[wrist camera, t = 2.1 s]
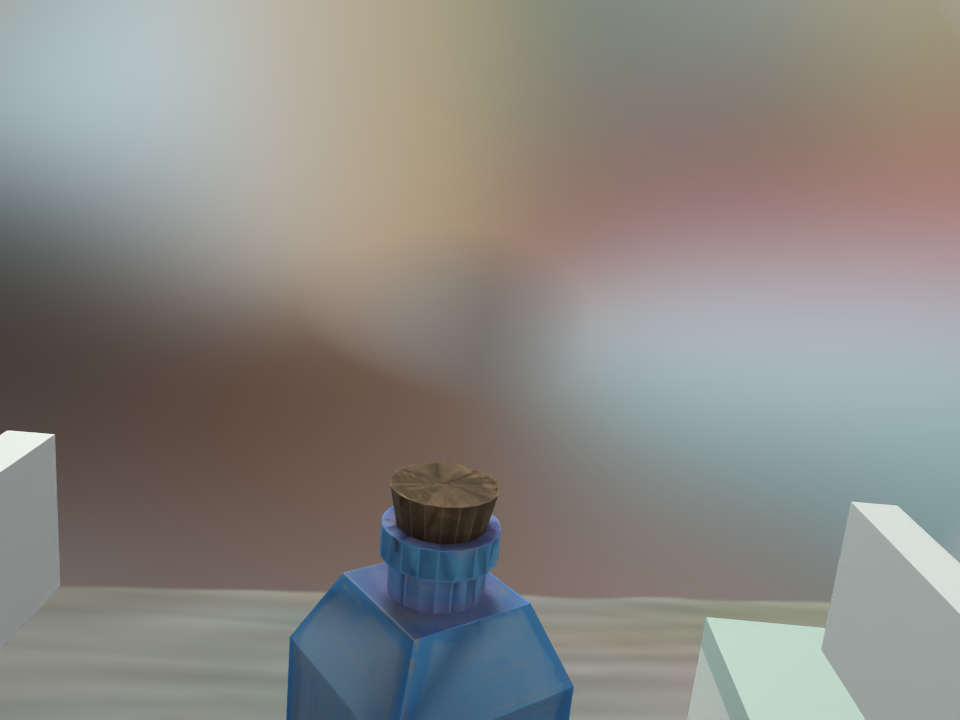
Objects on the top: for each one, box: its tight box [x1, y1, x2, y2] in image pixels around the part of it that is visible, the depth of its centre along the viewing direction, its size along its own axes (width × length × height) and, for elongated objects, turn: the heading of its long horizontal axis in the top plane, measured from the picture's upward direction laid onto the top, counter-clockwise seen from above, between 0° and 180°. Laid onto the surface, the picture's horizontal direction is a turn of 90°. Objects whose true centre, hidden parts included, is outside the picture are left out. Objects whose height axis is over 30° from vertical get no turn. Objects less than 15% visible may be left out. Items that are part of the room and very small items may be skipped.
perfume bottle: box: [286, 462, 573, 720], centre depth 27 cm, size 6×6×12 cm
